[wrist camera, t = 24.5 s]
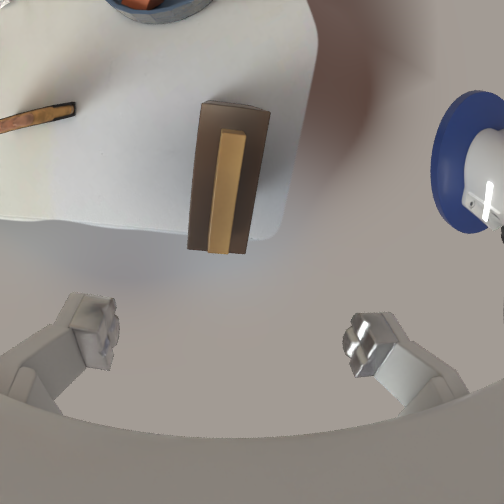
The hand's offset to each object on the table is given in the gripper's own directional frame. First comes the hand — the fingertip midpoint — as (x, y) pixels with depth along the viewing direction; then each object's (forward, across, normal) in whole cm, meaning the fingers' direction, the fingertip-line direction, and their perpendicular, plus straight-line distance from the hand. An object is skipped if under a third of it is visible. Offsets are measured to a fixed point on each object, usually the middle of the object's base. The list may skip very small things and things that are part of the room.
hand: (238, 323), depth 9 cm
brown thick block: (+28, 0, 0) cm, 28 cm away
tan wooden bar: (+15, 0, 0) cm, 15 cm away
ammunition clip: (+28, +25, -4) cm, 37 cm away
